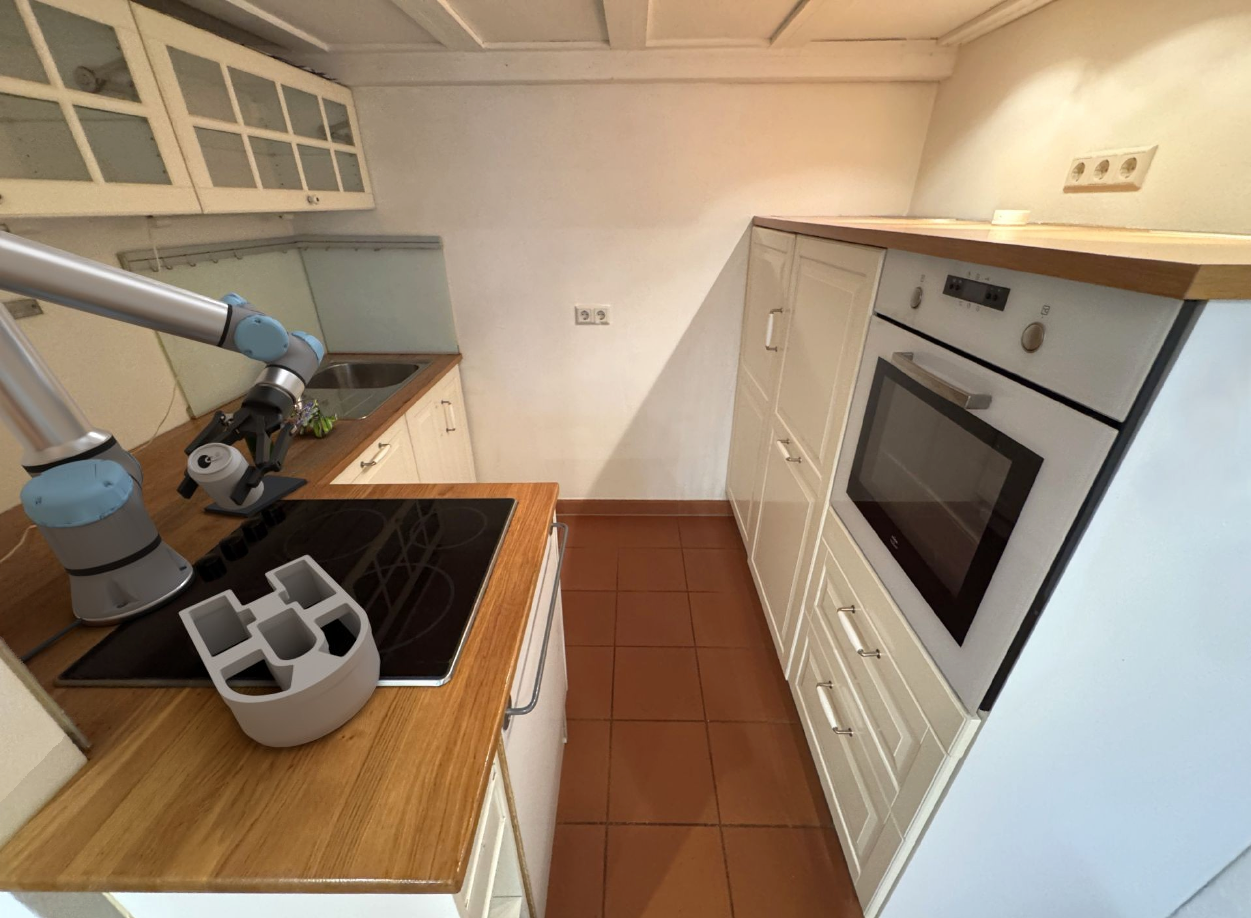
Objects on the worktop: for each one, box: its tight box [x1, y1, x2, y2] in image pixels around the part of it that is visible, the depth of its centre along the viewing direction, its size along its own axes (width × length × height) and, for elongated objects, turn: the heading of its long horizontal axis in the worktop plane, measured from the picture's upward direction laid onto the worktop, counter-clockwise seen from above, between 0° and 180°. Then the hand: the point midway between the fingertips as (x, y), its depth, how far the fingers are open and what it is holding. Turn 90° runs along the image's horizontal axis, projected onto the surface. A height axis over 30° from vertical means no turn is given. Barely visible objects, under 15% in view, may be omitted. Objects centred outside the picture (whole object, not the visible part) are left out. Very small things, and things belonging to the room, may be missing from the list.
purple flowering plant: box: [290, 398, 339, 438], centre depth 149 cm, size 11×11×12 cm
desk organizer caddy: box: [178, 554, 381, 748], centre depth 68 cm, size 17×28×9 cm, turn 50°
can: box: [187, 443, 264, 510], centre depth 87 cm, size 8×8×12 cm
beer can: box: [243, 437, 275, 467], centre depth 127 cm, size 5×5×12 cm
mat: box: [203, 474, 308, 518], centre depth 116 cm, size 16×12×1 cm
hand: (209, 498), depth 83 cm, fingers closed on can, 7 cm apart
